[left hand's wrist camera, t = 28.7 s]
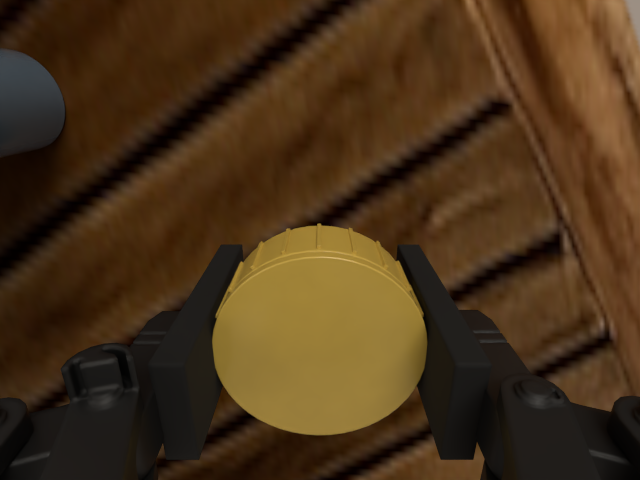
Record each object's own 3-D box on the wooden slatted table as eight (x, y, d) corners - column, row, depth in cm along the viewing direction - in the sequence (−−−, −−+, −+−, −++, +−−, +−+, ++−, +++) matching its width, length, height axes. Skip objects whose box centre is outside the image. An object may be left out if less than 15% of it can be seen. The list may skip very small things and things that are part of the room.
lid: (432, 237, 12) (457, 272, 9) (389, 391, 14) (402, 447, 12) (235, 209, 11) (215, 239, 9) (223, 371, 13) (204, 425, 11)
